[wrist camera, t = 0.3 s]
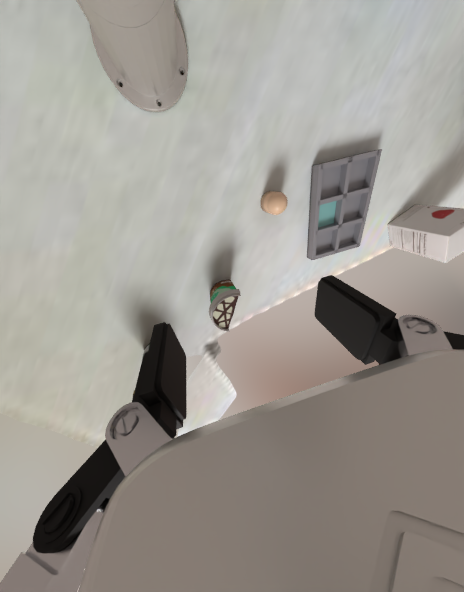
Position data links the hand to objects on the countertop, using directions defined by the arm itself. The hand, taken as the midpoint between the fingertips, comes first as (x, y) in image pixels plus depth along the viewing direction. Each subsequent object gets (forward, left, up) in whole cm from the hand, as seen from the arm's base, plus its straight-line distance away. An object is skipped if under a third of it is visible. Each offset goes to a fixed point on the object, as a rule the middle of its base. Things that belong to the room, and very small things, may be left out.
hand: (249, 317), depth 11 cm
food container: (+20, -2, -35) cm, 41 cm away
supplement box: (+16, +58, -35) cm, 70 cm away
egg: (0, +16, -35) cm, 39 cm away
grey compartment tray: (+6, +34, -35) cm, 50 cm away
